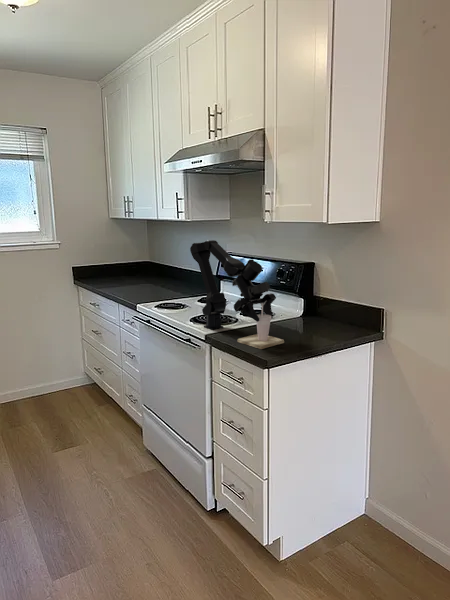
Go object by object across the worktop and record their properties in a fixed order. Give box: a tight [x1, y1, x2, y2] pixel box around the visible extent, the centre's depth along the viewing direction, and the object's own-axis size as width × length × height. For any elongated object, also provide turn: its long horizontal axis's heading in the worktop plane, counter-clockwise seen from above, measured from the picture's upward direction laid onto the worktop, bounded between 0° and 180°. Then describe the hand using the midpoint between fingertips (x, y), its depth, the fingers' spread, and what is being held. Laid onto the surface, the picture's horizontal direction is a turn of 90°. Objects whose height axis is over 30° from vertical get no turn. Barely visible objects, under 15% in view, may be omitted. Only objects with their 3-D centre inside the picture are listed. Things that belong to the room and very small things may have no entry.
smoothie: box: [255, 305, 273, 341], centre depth 178 cm, size 6×6×14 cm
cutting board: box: [236, 333, 285, 350], centre depth 180 cm, size 13×13×1 cm
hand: (265, 319), depth 177 cm, fingers open, 7 cm apart
